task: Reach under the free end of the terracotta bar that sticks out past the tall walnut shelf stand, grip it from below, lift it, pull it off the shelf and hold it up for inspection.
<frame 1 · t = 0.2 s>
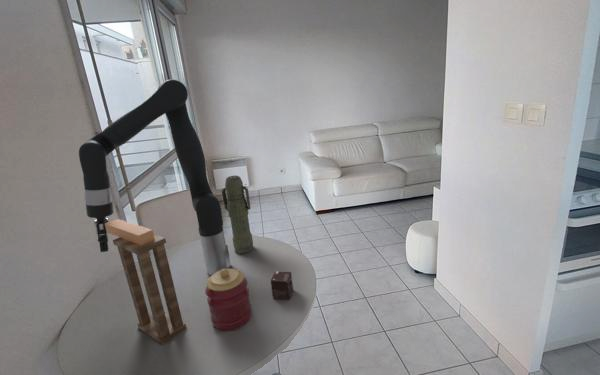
hand: (104, 246, 107), 22 cm above the table, tool pointing down, fingers open, 8 cm apart
box: (283, 294, 109), on the table
terracotta bar: (129, 235, 92), point 31 cm above the table, touching walnut shelf stand
canister: (232, 317, 100), on the table
thermos: (244, 249, 144), on the table
walnut shelf stand: (162, 327, 98), on the table
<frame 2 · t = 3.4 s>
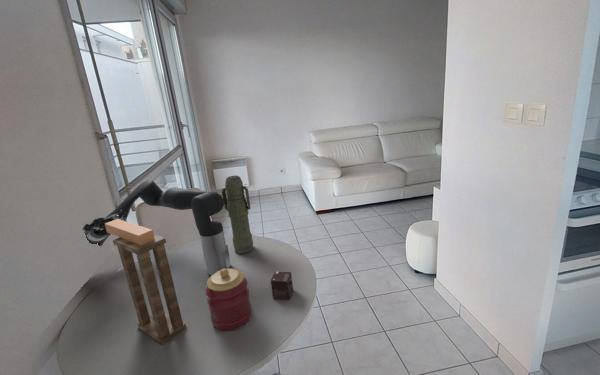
hand: (110, 216, 113), 30 cm above the table, tool pointing upward, fingers open, 8 cm apart
nothing on the table moved.
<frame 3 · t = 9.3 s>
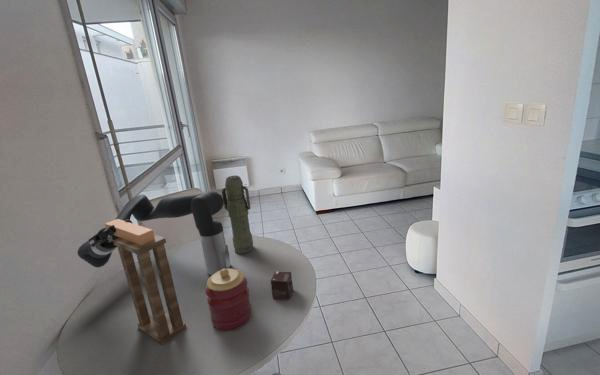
hand: (121, 225, 93), 34 cm above the table, tool pointing upward, fingers closed on terracotta bar, 4 cm apart
terracotta bar: (130, 235, 92), point 31 cm above the table, touching gripper, walnut shelf stand
everything else where it was.
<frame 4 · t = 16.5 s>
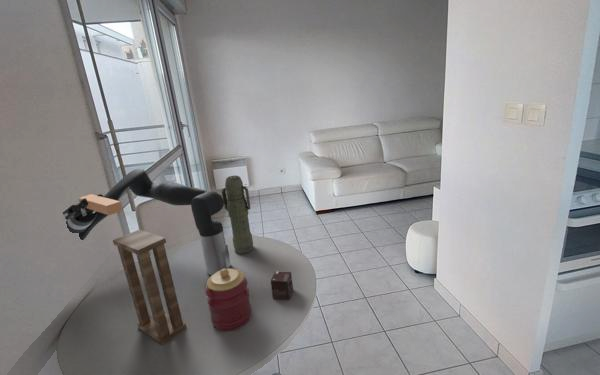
hand: (93, 198, 100), 40 cm above the table, tool pointing upward, fingers closed on terracotta bar, 4 cm apart
terracotta bar: (100, 208, 99), point 38 cm above the table, touching gripper
everything else where it was.
at the end: the gripper is holding terracotta bar; terracotta bar moved 16.3 cm from its start; terracotta bar touching gripper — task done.
